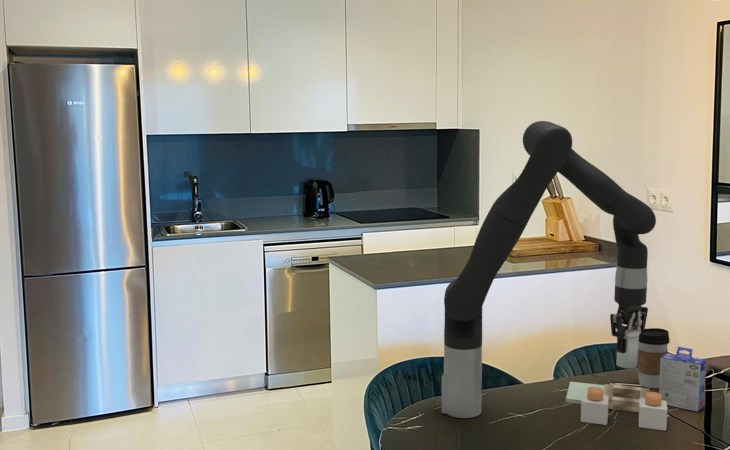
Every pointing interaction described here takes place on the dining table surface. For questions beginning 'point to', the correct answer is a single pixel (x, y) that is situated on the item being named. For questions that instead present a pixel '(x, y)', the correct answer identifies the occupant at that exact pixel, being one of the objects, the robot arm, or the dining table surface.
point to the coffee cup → (651, 355)
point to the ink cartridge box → (682, 380)
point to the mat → (579, 391)
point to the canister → (629, 350)
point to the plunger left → (595, 393)
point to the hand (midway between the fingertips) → (627, 349)
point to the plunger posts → (647, 413)
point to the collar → (624, 397)
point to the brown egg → (653, 398)
